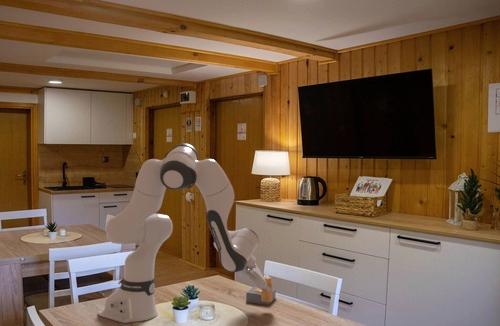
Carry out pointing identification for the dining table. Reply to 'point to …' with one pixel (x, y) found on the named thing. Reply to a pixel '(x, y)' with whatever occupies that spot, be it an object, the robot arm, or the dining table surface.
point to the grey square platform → (257, 296)
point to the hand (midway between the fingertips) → (268, 288)
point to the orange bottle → (265, 294)
